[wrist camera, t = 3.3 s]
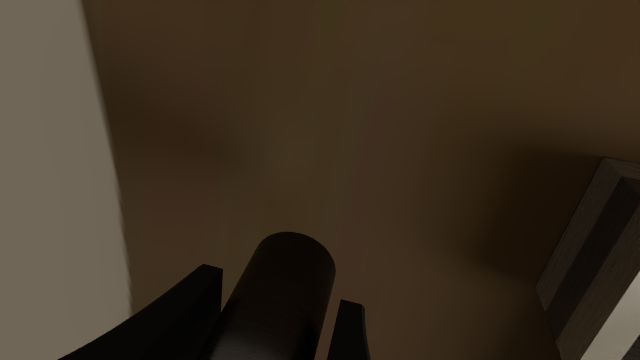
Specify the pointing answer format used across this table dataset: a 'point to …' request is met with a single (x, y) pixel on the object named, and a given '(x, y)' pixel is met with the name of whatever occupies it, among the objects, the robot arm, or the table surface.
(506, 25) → the table surface
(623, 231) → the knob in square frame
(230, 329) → the round dark gray knob
